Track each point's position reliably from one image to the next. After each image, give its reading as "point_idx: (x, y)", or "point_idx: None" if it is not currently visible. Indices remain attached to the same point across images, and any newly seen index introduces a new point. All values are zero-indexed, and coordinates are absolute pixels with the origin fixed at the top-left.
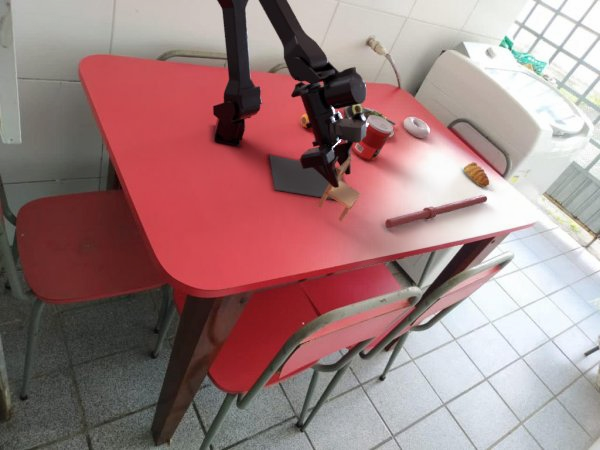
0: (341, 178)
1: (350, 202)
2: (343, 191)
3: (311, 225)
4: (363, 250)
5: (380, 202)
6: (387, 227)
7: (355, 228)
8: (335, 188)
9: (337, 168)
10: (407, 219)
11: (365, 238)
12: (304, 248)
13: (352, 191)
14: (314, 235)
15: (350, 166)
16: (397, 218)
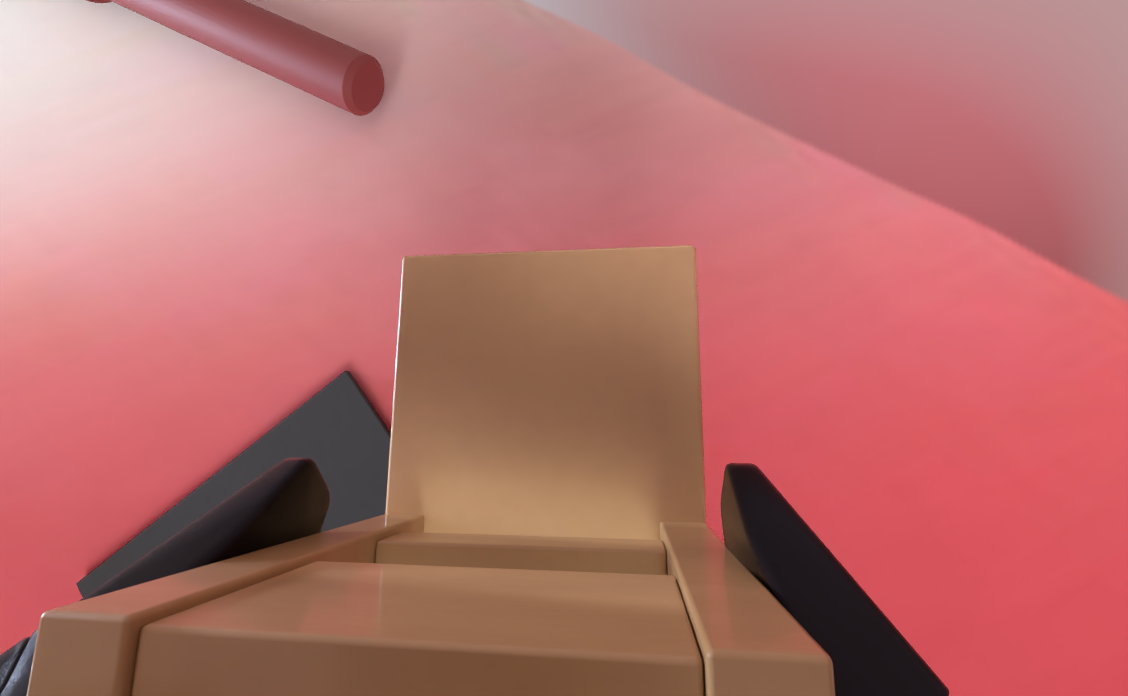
0: (165, 519)
1: (632, 272)
2: (534, 403)
3: (772, 471)
4: (674, 128)
5: (190, 222)
6: (380, 96)
7: (541, 240)
8: (572, 494)
9: (81, 592)
10: (246, 3)
11: (570, 160)
12: (1007, 408)
13: (449, 331)
14: (838, 412)
15: (199, 521)
16: (294, 44)
